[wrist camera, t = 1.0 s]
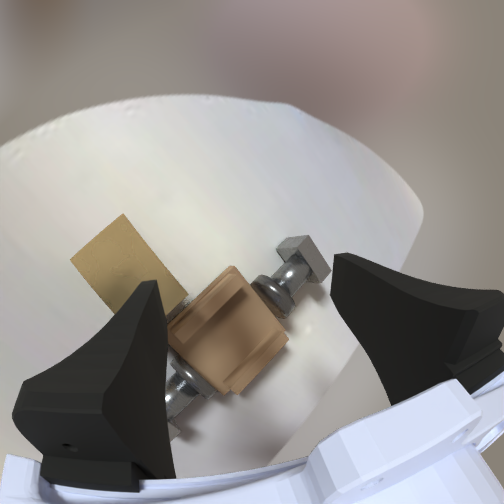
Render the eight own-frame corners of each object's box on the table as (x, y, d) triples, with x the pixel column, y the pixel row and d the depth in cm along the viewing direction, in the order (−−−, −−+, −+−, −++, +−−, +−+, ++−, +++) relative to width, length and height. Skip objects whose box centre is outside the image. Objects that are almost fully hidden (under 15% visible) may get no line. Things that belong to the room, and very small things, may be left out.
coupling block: (167, 286, 23) (188, 294, 17) (130, 321, 21) (139, 340, 16) (118, 225, 21) (123, 213, 16) (78, 260, 19) (69, 259, 14)
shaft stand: (173, 436, 22) (186, 460, 18) (107, 382, 20) (109, 404, 16) (318, 283, 29) (346, 285, 26) (276, 222, 27) (303, 216, 24)
